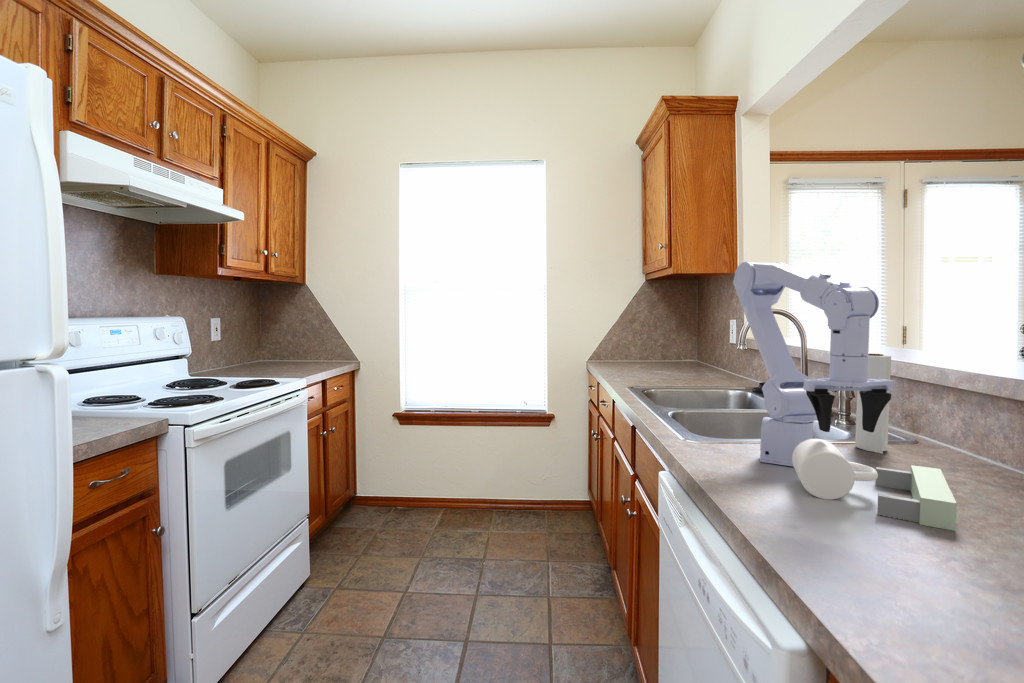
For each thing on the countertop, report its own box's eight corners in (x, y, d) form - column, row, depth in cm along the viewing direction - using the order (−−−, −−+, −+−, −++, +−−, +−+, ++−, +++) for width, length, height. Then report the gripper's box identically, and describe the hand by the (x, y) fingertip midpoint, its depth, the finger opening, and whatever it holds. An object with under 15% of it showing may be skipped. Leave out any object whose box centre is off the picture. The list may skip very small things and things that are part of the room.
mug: (798, 496, 87) (800, 450, 87) (791, 478, 96) (792, 436, 96) (883, 506, 83) (885, 457, 82) (867, 486, 92) (869, 442, 91)
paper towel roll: (859, 443, 121) (862, 352, 119) (890, 448, 116) (894, 354, 115) (850, 449, 116) (853, 354, 115) (882, 455, 111) (886, 356, 110)
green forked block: (877, 516, 78) (878, 491, 78) (875, 482, 94) (876, 460, 94) (955, 530, 73) (956, 503, 73) (939, 491, 89) (940, 468, 89)
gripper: (819, 357, 88) (816, 435, 89) (907, 357, 88) (904, 436, 88) (798, 354, 95) (796, 426, 96) (879, 354, 95) (876, 427, 95)
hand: (846, 430), depth 93 cm, fingers open, 7 cm apart
